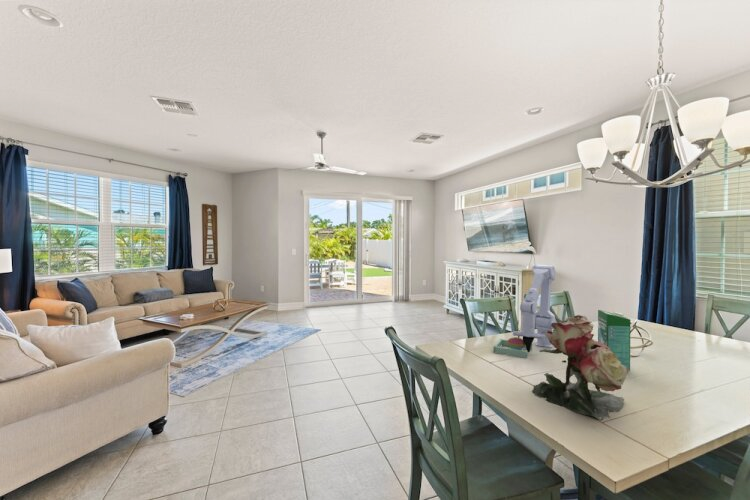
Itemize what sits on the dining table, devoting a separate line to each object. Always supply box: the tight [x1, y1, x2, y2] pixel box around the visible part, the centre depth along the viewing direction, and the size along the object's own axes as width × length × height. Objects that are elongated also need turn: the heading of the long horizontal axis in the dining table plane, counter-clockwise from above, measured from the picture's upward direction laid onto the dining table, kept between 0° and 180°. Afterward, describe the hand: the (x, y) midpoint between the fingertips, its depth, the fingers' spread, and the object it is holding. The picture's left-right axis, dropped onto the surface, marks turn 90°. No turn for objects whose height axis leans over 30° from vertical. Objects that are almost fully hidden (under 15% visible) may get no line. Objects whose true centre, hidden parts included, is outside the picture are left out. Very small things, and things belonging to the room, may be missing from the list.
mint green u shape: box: [493, 338, 533, 359], centre depth 172 cm, size 15×16×3 cm
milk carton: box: [597, 309, 631, 372], centre depth 149 cm, size 9×9×25 cm
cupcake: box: [507, 329, 525, 351], centre depth 171 cm, size 9×8×12 cm
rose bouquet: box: [531, 314, 629, 421], centre depth 120 cm, size 26×29×30 cm
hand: (528, 351), depth 168 cm, fingers closed
